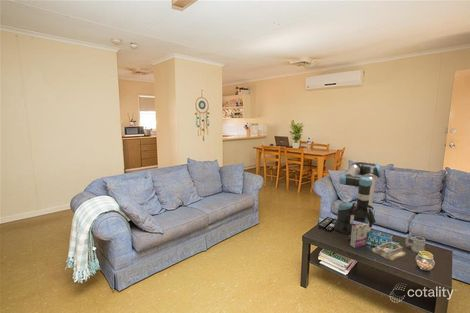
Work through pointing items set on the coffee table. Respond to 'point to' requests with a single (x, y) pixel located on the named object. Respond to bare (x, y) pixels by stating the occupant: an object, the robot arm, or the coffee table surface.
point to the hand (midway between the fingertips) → (359, 227)
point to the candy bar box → (358, 235)
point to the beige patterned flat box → (389, 251)
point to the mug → (416, 243)
